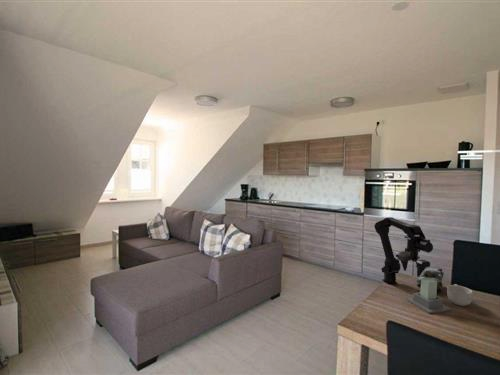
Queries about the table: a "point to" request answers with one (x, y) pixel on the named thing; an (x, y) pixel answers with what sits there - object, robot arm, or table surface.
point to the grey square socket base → (428, 304)
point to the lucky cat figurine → (433, 276)
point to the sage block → (428, 288)
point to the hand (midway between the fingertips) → (411, 273)
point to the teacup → (459, 295)
